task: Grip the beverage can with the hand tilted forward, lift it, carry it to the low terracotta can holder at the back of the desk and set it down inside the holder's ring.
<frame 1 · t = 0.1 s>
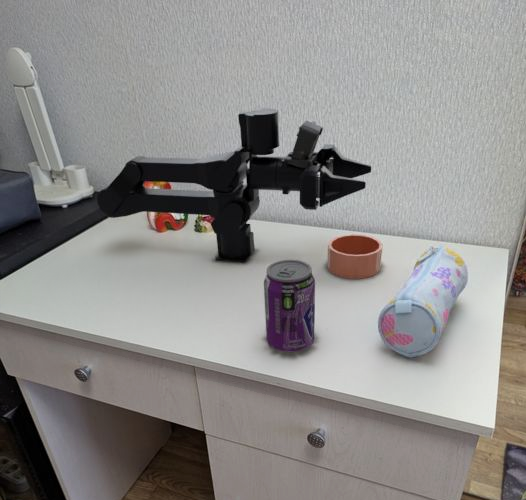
hand: (368, 176, 84), 17 cm above the table, tool horizontal, fingers open, 9 cm apart
beverage can: (290, 343, 74), on the table
can holder: (353, 266, 93), on the table
pencil case: (421, 326, 76), on the table
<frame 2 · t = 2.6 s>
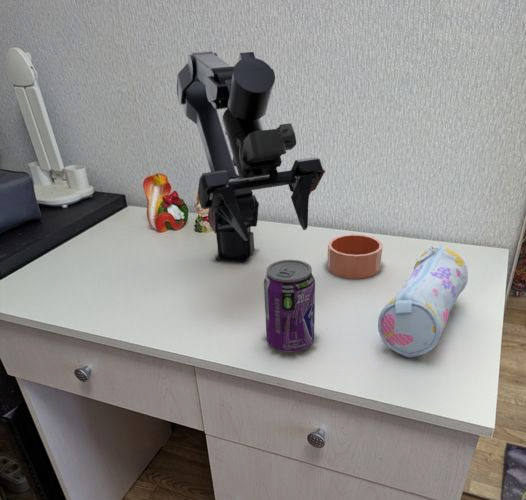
hand: (276, 234, 72), 14 cm above the table, tool tilted 45°, fingers open, 9 cm apart
nothing on the table moved.
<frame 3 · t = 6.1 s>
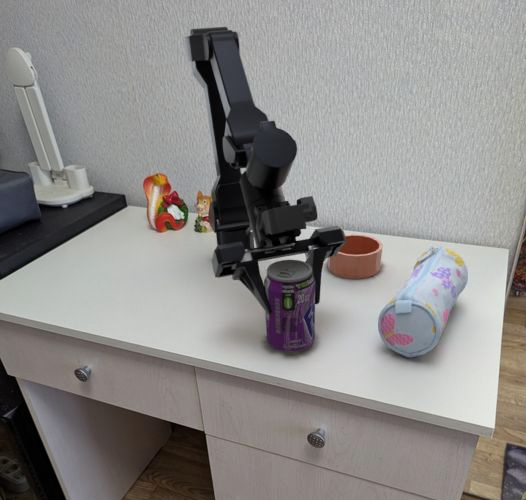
hand: (293, 308, 69), 7 cm above the table, tool tilted 45°, fingers closed on beverage can, 7 cm apart
beverage can: (290, 343, 74), on the table, touching gripper
everything else where it was.
when the fingers open (7 cm above the table, at t = 15.3 s): beverage can stays where it is, resting on can holder.
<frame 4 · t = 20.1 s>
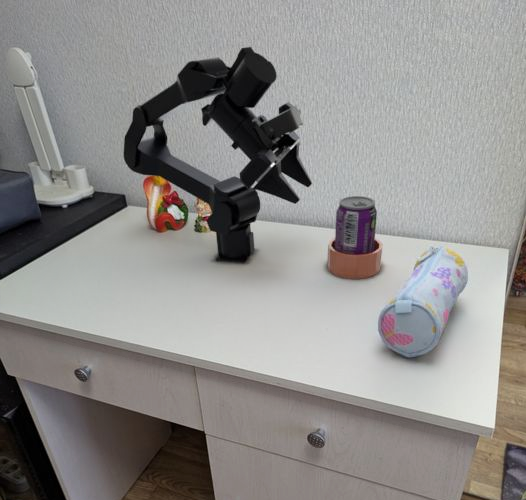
hand: (304, 193, 88), 14 cm above the table, tool tilted 45°, fingers open, 9 cm apart
beverage can: (353, 265, 93), resting on can holder
everything else where it was.
at the end: beverage can 0.2 cm off-centre in the can holder, point 0.3 cm above the can holder's base; beverage can tilted 0°; the gripper is holding nothing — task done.
